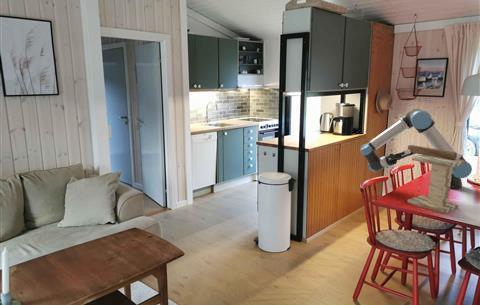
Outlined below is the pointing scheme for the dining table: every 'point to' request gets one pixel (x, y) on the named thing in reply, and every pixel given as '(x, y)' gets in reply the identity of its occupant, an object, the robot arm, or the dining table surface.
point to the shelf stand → (437, 184)
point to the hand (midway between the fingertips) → (416, 149)
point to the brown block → (433, 152)
